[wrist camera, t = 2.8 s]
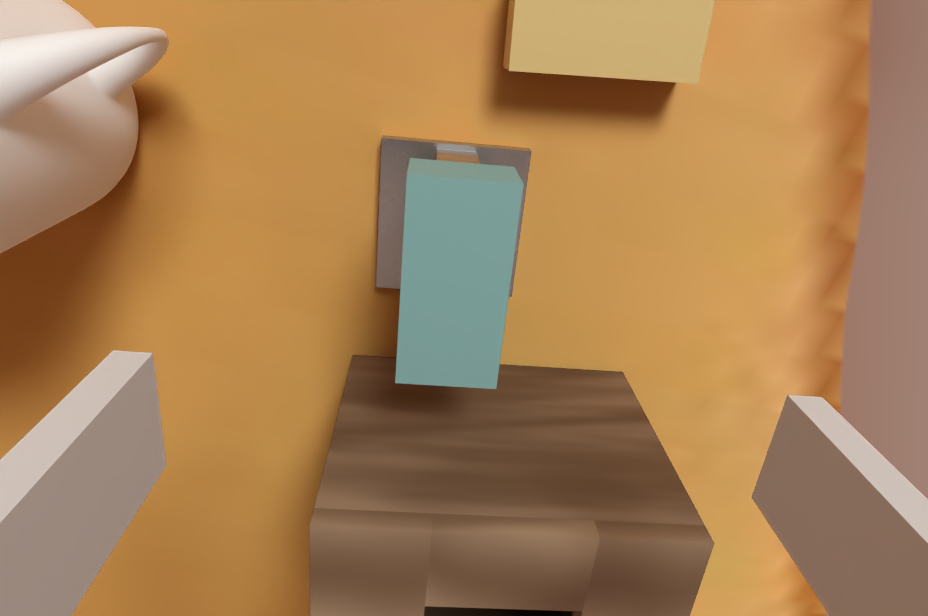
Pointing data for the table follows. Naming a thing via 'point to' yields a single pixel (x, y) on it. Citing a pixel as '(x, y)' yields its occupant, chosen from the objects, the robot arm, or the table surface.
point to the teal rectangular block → (456, 271)
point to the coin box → (501, 501)
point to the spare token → (609, 38)
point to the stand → (394, 191)
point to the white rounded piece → (64, 111)
